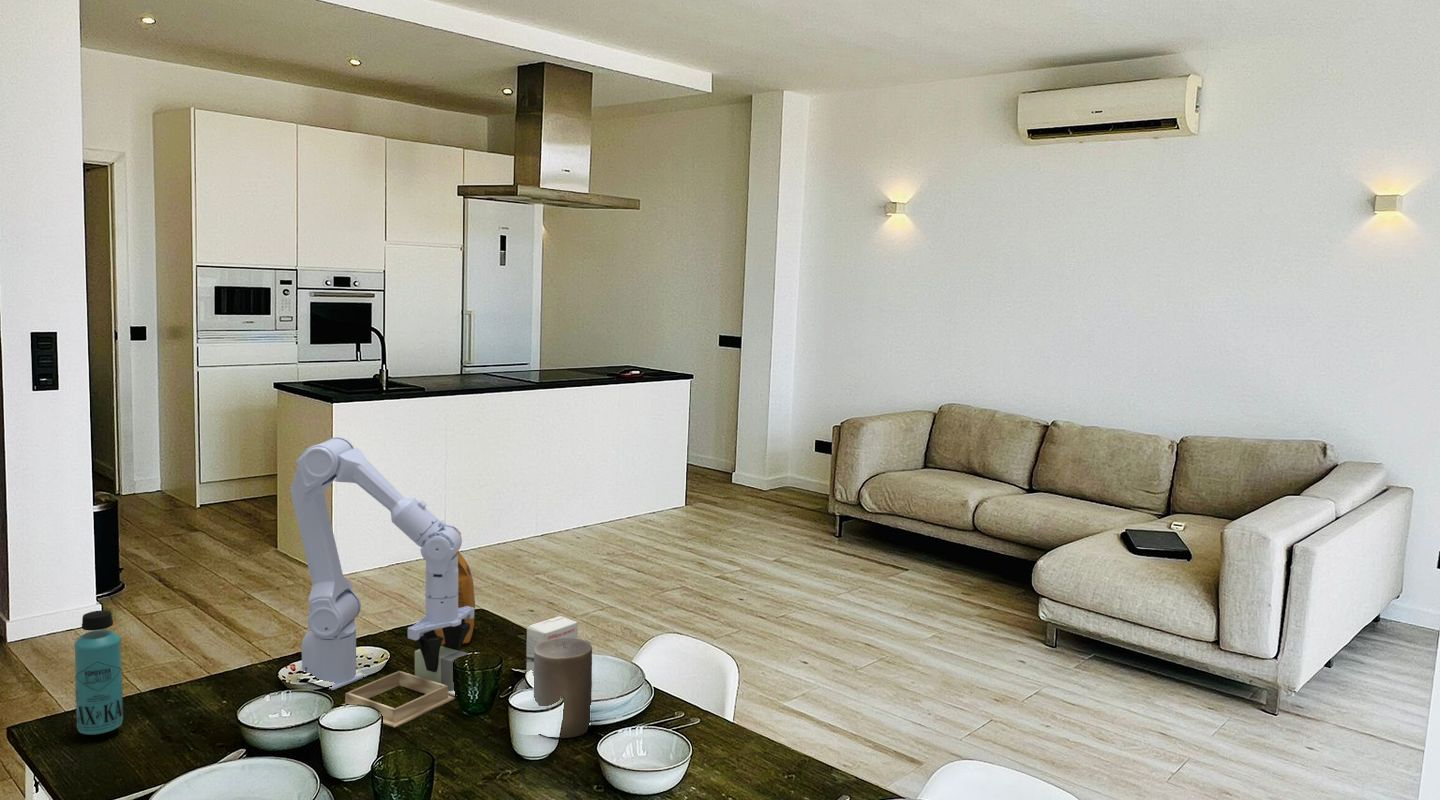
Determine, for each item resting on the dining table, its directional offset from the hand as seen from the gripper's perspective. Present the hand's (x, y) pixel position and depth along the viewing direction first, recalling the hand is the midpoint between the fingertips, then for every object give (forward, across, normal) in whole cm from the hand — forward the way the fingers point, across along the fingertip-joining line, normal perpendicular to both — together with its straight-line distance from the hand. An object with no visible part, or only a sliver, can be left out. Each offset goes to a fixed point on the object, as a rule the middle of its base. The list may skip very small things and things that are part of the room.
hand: (441, 666), depth 182 cm
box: (+3, 0, 0) cm, 3 cm away
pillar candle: (+3, -2, -29) cm, 29 cm away
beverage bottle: (+3, -44, +29) cm, 53 cm away
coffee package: (+3, +18, +15) cm, 23 cm away
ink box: (+3, +10, -17) cm, 20 cm away
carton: (+3, -10, 0) cm, 11 cm away
